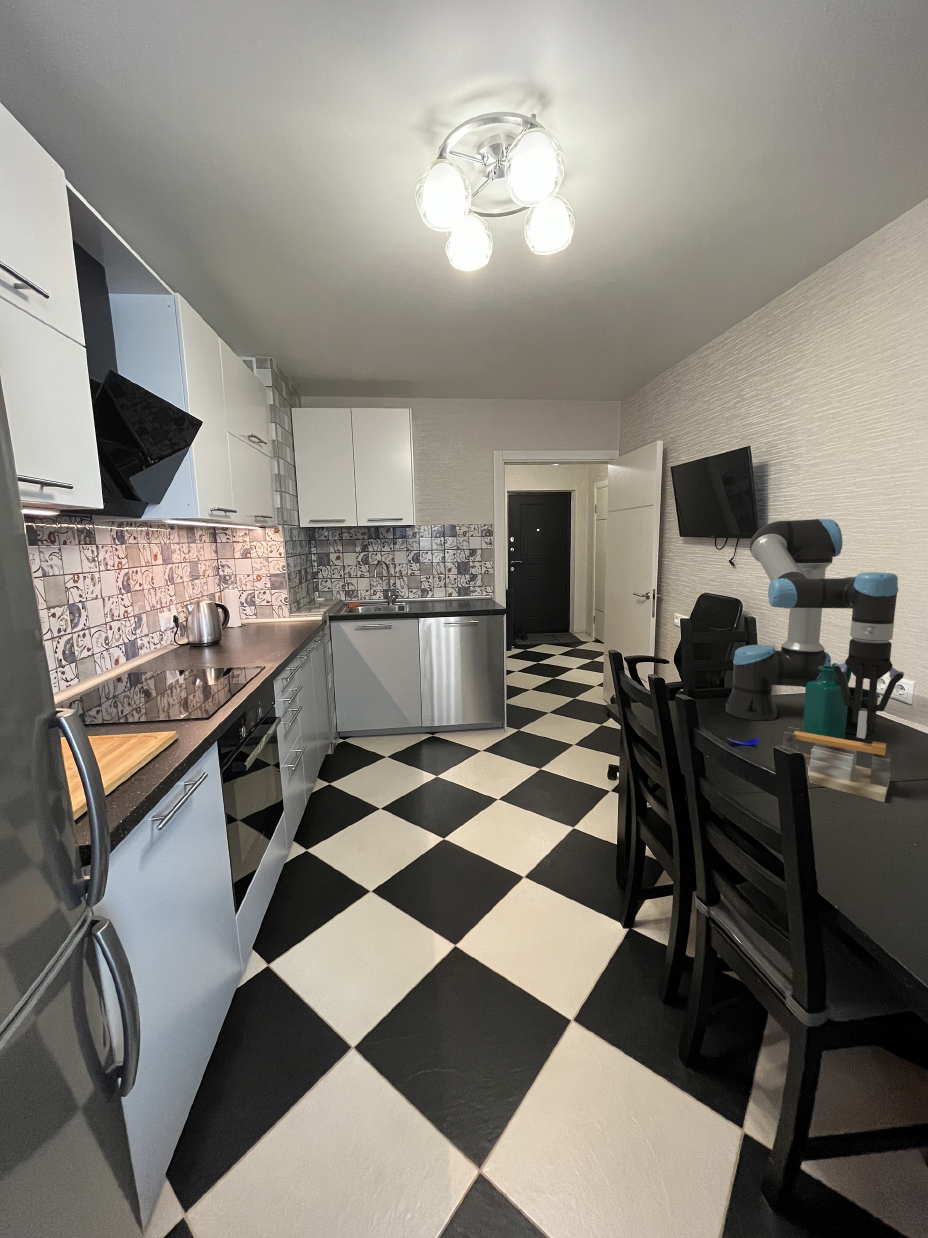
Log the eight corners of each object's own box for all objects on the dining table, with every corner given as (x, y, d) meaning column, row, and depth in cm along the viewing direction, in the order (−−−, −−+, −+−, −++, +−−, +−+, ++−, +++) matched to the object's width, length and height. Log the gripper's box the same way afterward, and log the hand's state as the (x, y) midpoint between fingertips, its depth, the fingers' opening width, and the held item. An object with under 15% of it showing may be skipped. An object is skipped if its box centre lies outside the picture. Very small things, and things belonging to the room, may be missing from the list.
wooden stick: (792, 738, 125) (792, 731, 125) (795, 735, 127) (795, 727, 127) (884, 755, 112) (884, 747, 112) (885, 751, 114) (886, 743, 114)
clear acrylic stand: (776, 773, 124) (778, 736, 123) (788, 757, 133) (791, 722, 132) (884, 802, 110) (888, 760, 108) (889, 781, 119) (893, 742, 117)
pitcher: (824, 745, 140) (830, 671, 136) (798, 734, 148) (803, 664, 145) (852, 741, 142) (858, 668, 138) (825, 730, 150) (830, 661, 147)
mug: (838, 734, 147) (841, 696, 145) (822, 717, 160) (825, 682, 159) (883, 738, 143) (886, 699, 141) (863, 721, 157) (866, 685, 155)
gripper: (832, 639, 114) (824, 734, 118) (907, 645, 105) (896, 748, 109) (838, 634, 120) (830, 725, 123) (909, 640, 111) (898, 738, 114)
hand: (861, 736), depth 116 cm, fingers closed
